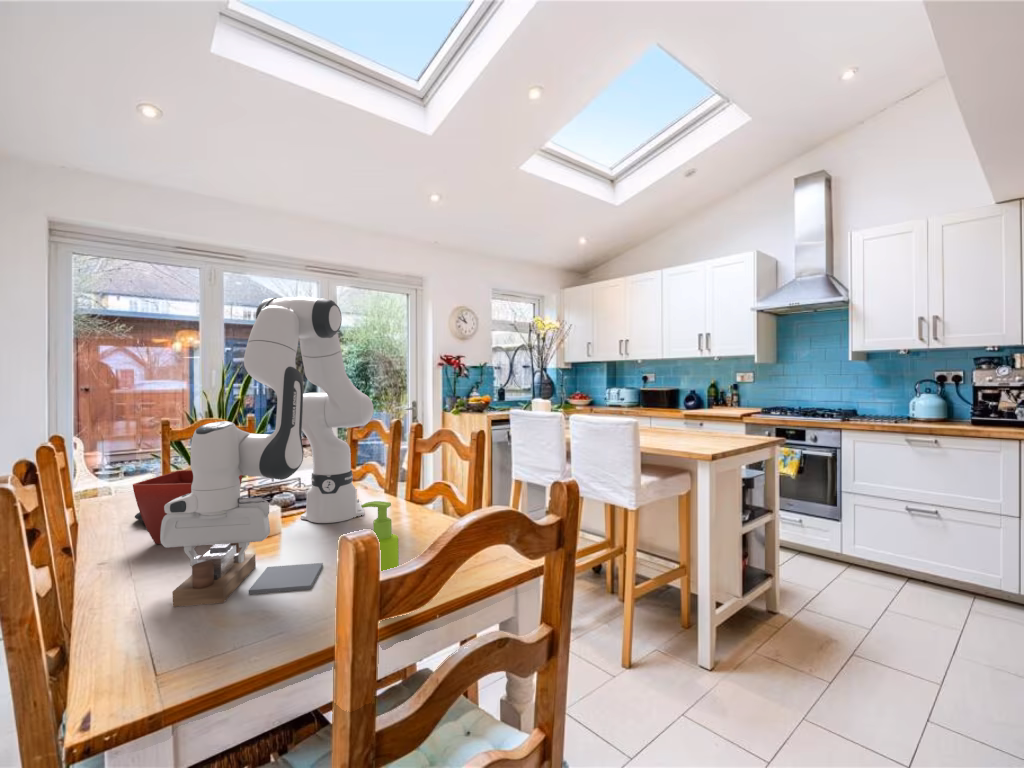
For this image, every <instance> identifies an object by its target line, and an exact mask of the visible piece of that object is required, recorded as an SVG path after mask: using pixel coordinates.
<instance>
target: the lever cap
mask: <svg viewBox="0 0 1024 768" xmlns="http://www.w3.org/2000/svg"><path fill="white" fill-rule="evenodd" d="M235 554H236V545H231V544H213V545H211V547H210V548H209V550H208V551H206V553H204V554H203V555H202V557H201V558H199V559H198V560H197V563H200V562H205V561H212V562H213V563H214V574H218V578H222V577H223V576H224V575H225V574H226V573H227V572H228V571H229V570H230V569H231V568H232V567H233V566H234V565H235V564H236V563H234V555H235Z"/></svg>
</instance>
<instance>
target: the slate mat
mask: <svg viewBox="0 0 1024 768" xmlns="http://www.w3.org/2000/svg"><path fill="white" fill-rule="evenodd" d="M323 567H324V562H318V563H316V562H315V563H304V564H288V565H287V564H286V565H275V566H267V567H265V569H264V570H263V572H262V573H261V574H260V576H258V578H257V579H256V581H254V583H253V584H252V585H251V586H250V588H249V589H248V595H256V594H266V593H267V594H268V593H278V592H279V593H281V591H282V592H291V591H293V590H294V591H305V590H312V588H313V587H314V584H315V582H316V581H317V578H318V577H319V575H320V573H321V571H322V569H323Z"/></svg>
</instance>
